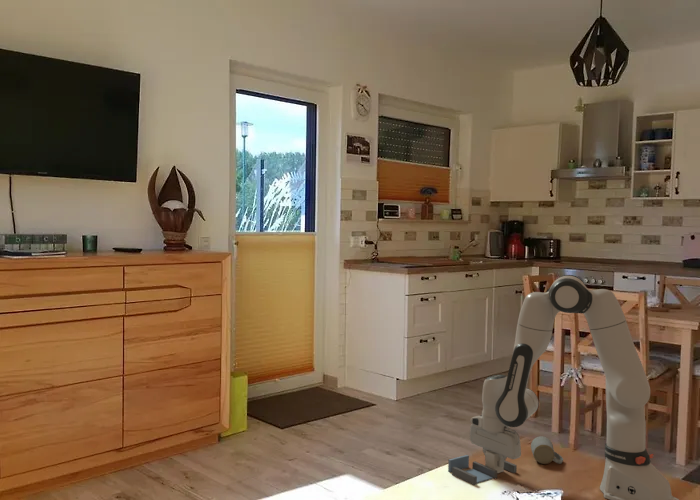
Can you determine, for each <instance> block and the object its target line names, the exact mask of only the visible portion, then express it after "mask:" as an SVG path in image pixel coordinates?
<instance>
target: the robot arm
mask: <svg viewBox="0 0 700 500" xmlns="http://www.w3.org/2000/svg"><path fill="white" fill-rule="evenodd" d="M560 312H562V313H567V314H583V315H584V318H585V319H586V323H587V326H588V329H589V332H590V335H591V337H592V342H593V344H594V347H595V348H594V349H595V351H596V354H597V356H598V359H599V361H600V364H601V368H602V370H603V373H604V375H605V403H606V404H605V405H606V406H605V408H606V409H605V410H606V443H604V459H605V463H604V469H603V475H602V479H601V482H600V486H599V489H600V492H602V493H603V498H604V499H608V500H680V499H679V498H677V497H675V496H674V495H672V489H671V484H670V482H669V480H668V479H667V478H666V477H665V476H664V475H663V474H662V473H661V472H660V471H659V470H658V469H657V468H656V467H655V466H654V465H653V464H652V461H651V459H653V458H654V453H651V454H649V452H648V450H647V448H646V431H647V430H646V428H647V426H646V424H647V422H646V415H645V406H646V404H647V403H648V402H649V400H650V397H651V387H650V383H649V380H648V377H647V374H646V371H645V370H644V366H643V363H642V361H641V359H640V356H639V354H638V352H637V348H636V346H635V344H634V340H633V337H632V334H631V331H630V329H629V328H630V327H629V325H628V322H627V319H626V316H625V313H624V311H623V308H622V306H621V304H620V302H619V300H618V298H617V297H616V295H615V294H614V292H613V291H611V290H610V289H606V288H599V289H598V288H597V289H589V288H588V287H587V286H586V284H585V282H584V281H583V280H582V279H581V278H580V277H578V276H577V275H572V274H566V275H565V274H564V275H562V276H560V277H558V278H557V279H555V280H554V281H553V282H552V284H551V285H550V287H549V288H548V289H547V290H546V292H545V291H544V292H541V291H533V292H530V293H528V294H526V296H525V297H524V299H523V303H522V305H521V308H520V310H519V315H518V319H517V324H516V331H515V338H514V344H513V348H512V349H513V350H512V355H511V356H512V357H511V361H510V363H509V369H508V372H507V375H505V374H493V375H490V376H488V377H486V378H485V379H484V381H483V383H482V384H483V385H482V391H481V392H482V395H481V401H482V411H481V415H475V416H473V417H471V418H470V425H469V426H470V427H469V440H470V442H471V444H473V445H475V446H477V447H480V448H482V452H483V455H484V456H485V453H486V451H489V450H490V451H493V452H495V453H498V454H500V458H501V459H500V461H497V466H498V467H504V461H507V458H508V459H511V460H516V459H519V458H520V457H521V456H522V447H521V439H520V434H519V432H517V430H516V429H512V428H518V427H520V426H522V425H523V424H524V423H525V422H526V421H527V420H528V419H529V418H530V417H531V416H532V415H534V414H535V413H536V412H537V410H538V408H539V403H540V402H539V398H538V396H537V394H536V392H534V391H533V390H532V389H530V388H528V383H529V378H530V374H531V371H532V369H533V366H534V365H535V363H536V362H537V361H538V360H539V359H540V357H541V356H542V355H543V354H544V353H545V352H546V351H547V350H548V347H549V344H550V341H551V339H552V334H553V329H554V324H555V323H554V322H555V319H556V317H557V315H558V314H559V313H560Z"/></svg>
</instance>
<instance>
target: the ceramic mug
mask: <svg viewBox="0 0 700 500" xmlns="http://www.w3.org/2000/svg"><path fill="white" fill-rule="evenodd" d="M530 443H531V444H530V449H531V453H532V455H533V458H534V460H535V461H536V462H537V463H538V464H540V465H541V464H542V465H548V464H550V463H551V462H552V461H553V462H554V463H556V464H559V465H561V464H562V463H563V462H564V458H563V456H561V455H560V454H559V453H557V452H556V451H555V449H554V444H553V442H552V441H551V440H550V439H549V438H548V437H546V436H542V435H541V436H540V435H539V436H536V437H535V438H534V439H532V441H531V442H530Z"/></svg>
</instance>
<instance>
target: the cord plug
mask: <svg viewBox="0 0 700 500" xmlns="http://www.w3.org/2000/svg"><path fill="white" fill-rule="evenodd" d="M500 459H501V458H500V454H498V453H495V452H493V451H490V450H489V451H486V453H485V455H484V461H485V462H484V465H485V466H487V467H490V468H492V469H494V470H497V474H500V473H503V472H505V469H504V467H498V466H497V461H500Z"/></svg>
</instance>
